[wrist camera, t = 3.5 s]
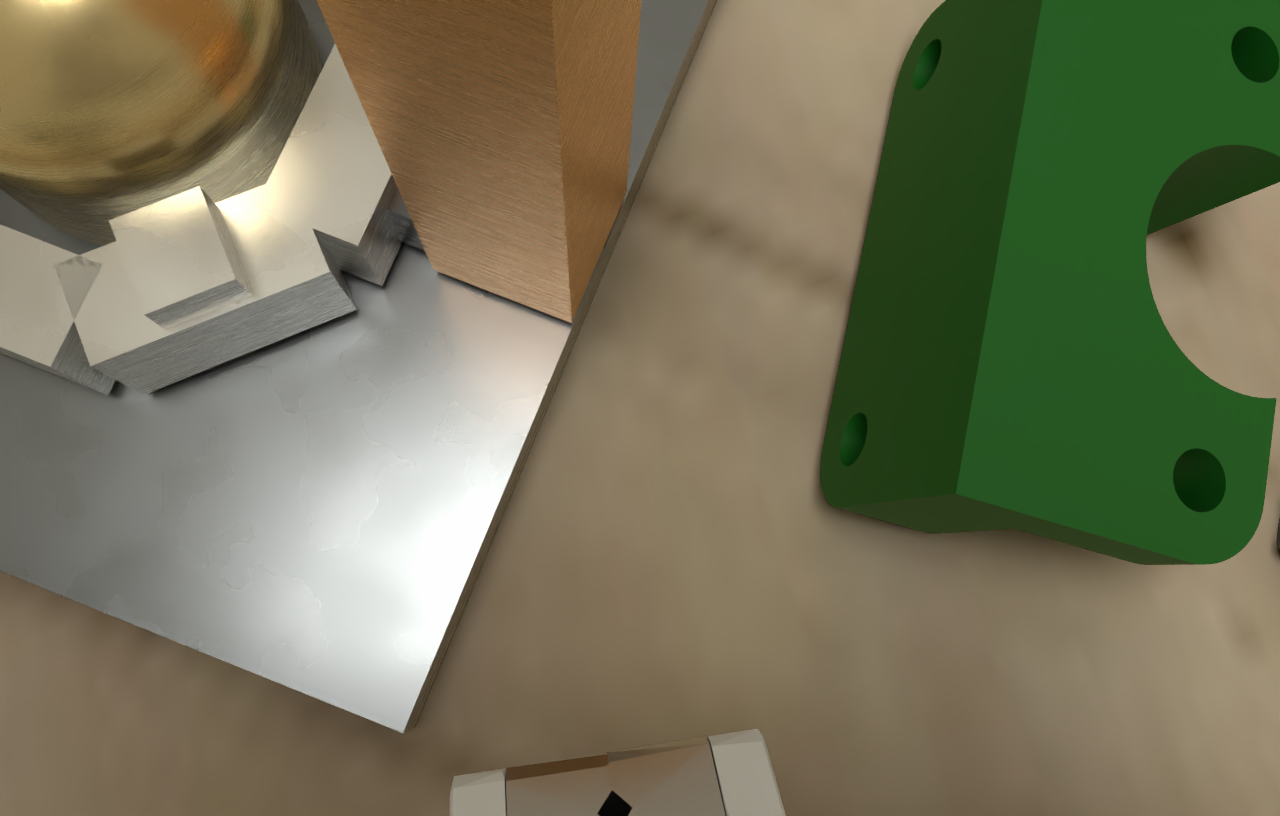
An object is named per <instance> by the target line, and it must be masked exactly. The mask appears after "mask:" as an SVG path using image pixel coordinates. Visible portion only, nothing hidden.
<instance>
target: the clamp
mask: <svg viewBox="0 0 1280 816" xmlns="http://www.w3.org/2000/svg"><path fill="white" fill-rule="evenodd" d="M1278 182H1280V0H946V1H945V2H944V3H942V4H941V5H940V6H939V7H938V8H937V9H936V10H935V11H934V12H933V13H932V14H931V15H930V17H929V18H928V19H927V20H926V22H925V23H924V24H923V26H922V27H921V29H920V31H919V32H918V34H917V35H916V37H915V39H914V41H913V43H912V45H911V47H910V49H909V51H908V53H907V55H906V57H905V60H904V62H903V65H902V68H901V70H900V73H899V77H898V80H897V84H896V88H895V93H894V98H893V102H892V107H891V112H890V117H889V122H888V127H887V132H886V137H885V142H884V147H883V152H882V157H881V162H880V167H879V172H878V177H877V182H876V187H875V192H874V197H873V202H872V207H871V212H870V216H869V221H868V226H867V231H866V236H865V241H864V246H863V251H862V256H861V261H860V266H859V271H858V276H857V281H856V286H855V291H854V296H853V301H852V306H851V311H850V316H849V321H848V325H847V330H846V335H845V340H844V345H843V350H842V355H841V360H840V365H839V370H838V375H837V380H836V385H835V390H834V395H833V400H832V405H831V410H830V415H829V420H828V425H827V430H826V434H825V439H824V444H823V450H822V456H821V466H820V478H821V486H822V491H823V494H824V497H825V499H826V500H827V502H828V503H829V504H830V505H832V506H834V507H837V508H841V509H844V510H848V511H851V512H855V513H858V514H862V515H865V516H869V517H873V518H876V519H880V520H883V521H887V522H890V523H894V524H897V525H901V526H905V527H908V528H912V529H915V530H919V531H922V532H926V533H949V532H966V531H984V530H1001V529H1018V530H1022V531H1025V532H1029V533H1032V534H1035V535H1039V536H1042V537H1046V538H1049V539H1053V540H1056V541H1060V542H1063V543H1067V544H1070V545H1074V546H1077V547H1081V548H1084V549H1087V550H1091V551H1094V552H1098V553H1101V554H1105V555H1108V556H1112V557H1115V558H1119V559H1122V560H1126V561H1129V562H1133V563H1137V564H1144V565H1174V564H1214V563H1219V562H1222V561H1225V560H1227V559H1229V558H1231V557H1233V556H1234V555H1236V554H1237V553H1238V552H1240V551H1241V550H1242V549H1243V548H1244V547H1245V546H1246V545H1247V544H1248V542H1249V541H1250V540H1251V538H1252V537H1253V535H1254V533H1255V531H1256V529H1257V527H1258V525H1259V522H1260V519H1261V515H1262V512H1263V506H1264V498H1265V490H1266V481H1267V473H1268V464H1269V456H1270V448H1271V439H1272V431H1273V422H1274V414H1275V405H1276V398H1257V397H1251V396H1247V395H1243V394H1240V393H1237V392H1235V391H1232V390H1230V389H1228V388H1226V387H1224V386H1222V385H1220V384H1218V383H1217V382H1215V381H1214V380H1212V379H1210V378H1209V377H1208V376H1206V375H1205V374H1204V373H1203V372H1201V371H1200V370H1199V369H1198V368H1197V367H1196V366H1195V365H1194V364H1193V363H1192V362H1191V361H1190V360H1189V359H1188V358H1187V357H1186V356H1185V355H1184V353H1183V352H1182V351H1181V350H1180V349H1179V347H1178V346H1177V344H1176V343H1175V341H1174V340H1173V339H1172V337H1171V335H1170V334H1169V332H1168V330H1167V329H1166V327H1165V325H1164V323H1163V321H1162V319H1161V317H1160V314H1159V312H1158V310H1157V307H1156V304H1155V301H1154V299H1153V295H1152V291H1151V288H1150V284H1149V278H1148V272H1147V263H1146V238H1147V235H1148V234H1150V233H1153V232H1155V231H1158V230H1160V229H1163V228H1165V227H1168V226H1170V225H1173V224H1175V223H1178V222H1180V221H1183V220H1185V219H1188V218H1190V217H1193V216H1195V215H1198V214H1200V213H1203V212H1205V211H1208V210H1210V209H1213V208H1215V207H1218V206H1220V205H1223V204H1225V203H1228V202H1230V201H1233V200H1235V199H1238V198H1240V197H1243V196H1245V195H1248V194H1251V193H1253V192H1256V191H1258V190H1261V189H1263V188H1266V187H1268V186H1271V185H1273V184H1276V183H1278Z"/></svg>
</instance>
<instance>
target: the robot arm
mask: <svg viewBox="0 0 1280 816" xmlns="http://www.w3.org/2000/svg"><path fill="white" fill-rule="evenodd" d="M450 816H786V814H785V810H784V807H783V803H782V800H781V796H780V793H779V789H778V786H777V782H776V779H775V775H774V772H773V768H772V765H771V761H770V757H769V754H768V750H767V747H766V743H765V740H764V737H763V735H762V734H761V733H760V731H759V730H758V729H757V728H756V729H750V730H744V731H738V732H732V733H725V734H719V735H713V736H708V738H706V736H700V737H694V738H689V739H683V740H677V741H671V742H666V743H660V744H654V745H648V746H643V747H637V748H631V749H625V750H620V751H614V752H608V753H607V755H601V756H594V757H586V758H579V759H571V760H564V761H556V762H549V763H541V764H534V765H526V766H519V767H511V768H507V769H506V768H505V769H498V770H491V771H485V772H478V773H471V774H464V775H458V776H454V777H453V782H452V786H451V790H450Z"/></svg>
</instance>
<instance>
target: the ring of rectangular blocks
mask: <svg viewBox="0 0 1280 816" xmlns="http://www.w3.org/2000/svg"><path fill="white" fill-rule="evenodd" d="M641 2H642V0H317V3H318V5H319V7H320V9H321V12H322V14H323V16H324V19H325V21H326V23H327V26H328V28H329V30H330V33H331V35H332V37H333V39H334V42H335V45H334V47H333V49H332V51H331V53H330V55H329V57H328V59H327V61H326V63H325V65H324V67H323V69H322V71H321V73H320V75H319V77H318V79H317V81H316V83H315V85H314V87H313V89H312V91H311V93H310V96H309V98H308V100H307V102H306V104H305V106H304V108H303V110H302V112H301V114H300V116H299V118H298V120H297V122H296V124H295V126H294V128H293V130H292V132H291V134H290V136H289V138H288V140H287V142H286V144H285V147H284V149H283V151H282V153H281V155H280V157H279V159H278V161H277V163H276V165H275V167H274V169H273V171H272V173H271V175H270V177H269V179H268V181H267V183H266V184H264V185H261V186H259V187H256V188H254V189H251V190H248V191H246V192H243V193H241V194H238V195H235V196H233V197H230V198H227V199H225V200H222V201H220V202H217V203H214V202H213V201H212V200H211V199H210V197H209V196H208V195H207V194H206V193H205V192H204V191H203V189H202V188H201V187H200V186H198V187H196V188H193V189H190V190H188V191H185V192H182V193H180V194H177V195H174V196H172V197H169V198H167V199H164V200H161V201H159V202H156V203H153V204H151V205H148V206H145V207H143V208H140V209H138V210H135V211H132V212H130V213H127V214H124V215H122V216H119V217H117V218H114V219H111V220H109V222H110V225H111V228H112V230H113V233H114V236H115V238H116V241H115V242H112V243H110V244H107V245H105V246H102V247H99V248H97V249H94V250H91V251H89V252H86V253H84V254H81V255H77V254H75V253H72V252H70V251H67V250H64V249H62V248H59V247H57V246H54V245H52V244H49V243H47V242H44V241H41V240H39V239H36V238H34V237H31V236H29V235H26V234H24V233H21V232H19V231H16V230H13V229H11V228H8V227H6V226H3V225H1V224H0V353H2V354H5V355H7V356H10V357H12V358H15V359H17V360H20V361H23V362H25V363H28V364H30V365H33V366H35V367H38V368H40V369H43V370H45V371H48V372H50V373H53V374H55V375H58V376H60V377H63V378H65V379H68V380H70V381H73V382H76V383H78V384H81V385H83V386H86V387H88V388H91V389H93V390H96V391H98V392H101V393H103V394H106V395H108V394H109V392H110V390H111V388H112V386H113V384H114V382H115V380H117V381H119V382H121V383H122V384H124V385H126V386H128V387H130V388H132V389H134V390H135V391H137V392H139V393H141V394H143V395H145V394H147V393H150V392H152V391H155V390H157V389H160V388H162V387H165V386H167V385H170V384H172V383H175V382H177V381H180V380H182V379H185V378H187V377H190V376H192V375H195V374H197V373H200V372H202V371H205V370H207V369H210V368H212V367H215V366H217V365H220V364H222V363H225V362H227V361H230V360H232V359H235V358H237V357H240V356H242V355H245V354H247V353H250V352H252V351H255V350H257V349H260V348H262V347H265V346H267V345H270V344H272V343H275V342H277V341H280V340H282V339H285V338H287V337H290V336H292V335H295V334H297V333H300V332H302V331H305V330H307V329H310V328H312V327H315V326H317V325H320V324H322V323H325V322H327V321H330V320H332V319H335V318H337V317H340V316H342V315H345V314H347V313H350V312H352V311H355V310H357V308H356V305H355V303H354V300H353V298H352V296H351V293H350V291H349V288H348V286H347V283H346V281H345V278H344V276H343V274H342V271H344V272H347V273H350V274H352V275H355V276H357V277H360V278H362V279H365V280H368V281H370V282H373V283H375V284H378V285H380V286H382V285H383V283H384V281H385V279H386V277H387V274H388V272H389V270H390V268H391V266H392V264H393V261H394V259H395V257H396V255H397V253H398V250H399V248H400V246H401V244H402V242H403V243H406V244H409V245H411V246H414V247H416V248H419V249H421V250H424V251H425V252H426V254H427V257H428V259H429V261H430V263H431V266H432V268H433V270H436V271H438V272H441V273H443V274H446V275H449V276H451V277H454V278H456V279H459V280H461V281H464V282H467V283H469V284H472V285H474V286H477V287H479V288H482V289H485V290H487V291H490V292H492V293H495V294H497V295H500V296H503V297H505V298H508V299H510V300H513V301H516V302H518V303H521V304H523V305H526V306H528V307H531V308H534V309H536V310H539V311H541V312H544V313H546V314H549V315H552V316H554V317H557V318H559V319H562V320H564V321H567V322H570V323H572V322H573V319H574V317H575V315H576V312H577V310H578V307H579V305H580V303H581V300H582V298H583V295H584V293H585V291H586V288H587V286H588V283H589V281H590V279H591V276H592V274H593V271H594V269H595V267H596V264H597V262H598V259H599V257H600V255H601V252H602V250H603V248H604V245H605V243H606V240H607V238H608V236H609V233H610V231H611V228H612V226H613V224H614V221H615V219H616V216H617V214H618V212H619V209H620V207H621V204H622V202H623V200H624V197H625V195H626V192H627V180H628V167H629V154H630V142H631V129H632V116H633V104H634V91H635V78H636V65H637V53H638V40H639V27H640V15H641ZM341 270H342V271H341Z"/></svg>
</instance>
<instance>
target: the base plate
mask: <svg viewBox="0 0 1280 816" xmlns="http://www.w3.org/2000/svg"><path fill="white" fill-rule="evenodd" d="M716 1H717V0H642V2H641V15H640V27H639V40H638V53H637V65H636V78H635V91H634V104H633V116H632V129H631V142H630V154H629V167H628V180H627V192H626V195H625V197H624V200H623V202H622V204H621V207H620V209H619V212H618V214H617V216H616V219H615V221H614V224H613V226H612V228H611V231H610V233H609V236H608V238H607V240H606V243H605V245H604V248H603V250H602V252H601V255H600V257H599V259H598V262H597V264H596V267H595V269H594V271H593V274H592V276H591V279H590V281H589V283H588V286H587V288H586V291H585V293H584V295H583V298H582V300H581V303H580V305H579V307H578V310H577V312H576V315H575V317H574V319H573V322H572V323H570V322H567V321H564V320H562V319H559V318H557V317H554V316H552V315H549V314H546V313H544V312H541V311H539V310H536V309H534V308H531V307H528V306H526V305H523V304H521V303H518V302H516V301H513V300H510V299H508V298H505V297H503V296H500V295H497V294H495V293H492V292H490V291H487V290H485V289H482V288H479V287H477V286H474V285H472V284H469V283H467V282H464V281H461V280H459V279H456V278H454V277H451V276H449V275H446V274H443V273H441V272H438V271H436V270H433V268H432V266H431V263H430V261H429V259H428V257H427V254H426V252H425V251H424V250H421V249H419V248H416V247H414V246H411V245H409V244H406V243H403V242H402V244H401V246H400V248H399V250H398V253H397V255H396V257H395V259H394V261H393V264H392V266H391V268H390V270H389V272H388V274H387V277H386V279H385V281H384V283H383V285H382V286H380V285H378V284H375V283H373V282H370V281H368V280H365V279H362V278H360V277H357V276H355V275H352V274H350V273H347V272H344V271H342V270H341V271H342V274H343V276H344V278H345V281H346V283H347V286H348V288H349V291H350V293H351V296H352V298H353V300H354V303H355V305H356V308H357V310H355V311H352V312H350V313H347V314H345V315H342V316H340V317H337V318H335V319H332V320H330V321H327V322H325V323H322V324H320V325H317V326H315V327H312V328H310V329H307V330H305V331H302V332H300V333H297V334H295V335H292V336H290V337H287V338H285V339H282V340H280V341H277V342H275V343H272V344H270V345H267V346H265V347H262V348H260V349H257V350H255V351H252V352H250V353H247V354H245V355H242V356H240V357H237V358H235V359H232V360H230V361H227V362H225V363H222V364H220V365H217V366H215V367H212V368H210V369H207V370H205V371H202V372H200V373H197V374H195V375H192V376H190V377H187V378H185V379H182V380H180V381H177V382H175V383H172V384H170V385H167V386H165V387H162V388H160V389H157V390H155V391H152V392H150V393H147V394H145V395H143V394H141V393H139V392H137V391H135V390H134V389H132V388H130V387H128V386H126V385H124V384H122V383H121V382H119V381H117V380H115V382H114V384H113V386H112V388H111V390H110V392H109V394H108V395H106V394H103V393H101V392H98V391H96V390H93V389H91V388H88V387H86V386H83V385H81V384H78V383H76V382H73V381H70V380H68V379H65V378H63V377H60V376H58V375H55V374H53V373H50V372H48V371H45V370H43V369H40V368H38V367H35V366H33V365H30V364H28V363H25V362H23V361H20V360H17V359H15V358H12V357H10V356H7V355H5V354H2V353H0V571H2V572H4V573H7V574H9V575H12V576H14V577H17V578H19V579H22V580H24V581H27V582H29V583H32V584H34V585H37V586H39V587H42V588H44V589H47V590H49V591H52V592H54V593H57V594H59V595H61V596H64V597H66V598H69V599H71V600H74V601H76V602H79V603H81V604H84V605H86V606H89V607H91V608H94V609H96V610H99V611H101V612H104V613H106V614H109V615H111V616H114V617H116V618H119V619H121V620H123V621H126V622H128V623H131V624H133V625H136V626H138V627H141V628H143V629H146V630H148V631H151V632H153V633H156V634H158V635H161V636H163V637H166V638H168V639H171V640H173V641H176V642H178V643H181V644H183V645H185V646H188V647H190V648H193V649H195V650H198V651H200V652H203V653H205V654H208V655H210V656H213V657H215V658H218V659H220V660H223V661H225V662H228V663H230V664H233V665H235V666H238V667H240V668H243V669H245V670H247V671H250V672H252V673H255V674H257V675H260V676H262V677H265V678H267V679H270V680H272V681H275V682H277V683H280V684H282V685H285V686H287V687H290V688H292V689H295V690H297V691H300V692H302V693H305V694H307V695H309V696H312V697H314V698H317V699H319V700H322V701H324V702H327V703H329V704H332V705H334V706H337V707H339V708H342V709H344V710H347V711H349V712H352V713H354V714H357V715H359V716H362V717H364V718H367V719H369V720H371V721H374V722H376V723H379V724H381V725H384V726H386V727H389V728H391V729H394V730H396V731H399V732H401V733H404V732H406V731H408V730H410V729H412V728H414V727H415V726H416V723H417V721H418V718H419V716H420V713H421V711H422V709H423V706H424V704H425V701H426V699H427V697H428V694H429V692H430V689H431V687H432V685H433V682H434V680H435V677H436V675H437V673H438V670H439V668H440V665H441V663H442V661H443V658H444V656H445V653H446V651H447V649H448V646H449V644H450V641H451V639H452V636H453V634H454V632H455V629H456V627H457V624H458V622H459V620H460V617H461V615H462V612H463V610H464V608H465V605H466V603H467V600H468V598H469V596H470V593H471V591H472V588H473V586H474V584H475V581H476V579H477V576H478V574H479V571H480V569H481V567H482V564H483V562H484V559H485V557H486V555H487V552H488V550H489V547H490V545H491V543H492V540H493V538H494V535H495V533H496V531H497V528H498V526H499V523H500V521H501V519H502V516H503V514H504V511H505V509H506V507H507V504H508V502H509V499H510V497H511V494H512V492H513V490H514V487H515V485H516V482H517V480H518V478H519V475H520V473H521V470H522V468H523V466H524V463H525V461H526V458H527V456H528V454H529V451H530V449H531V446H532V444H533V442H534V439H535V437H536V434H537V432H538V429H539V427H540V425H541V422H542V420H543V417H544V415H545V413H546V410H547V408H548V405H549V403H550V401H551V398H552V396H553V393H554V391H555V389H556V386H557V384H558V381H559V379H560V377H561V374H562V372H563V369H564V367H565V365H566V362H567V360H568V357H569V355H570V352H571V350H572V348H573V345H574V343H575V340H576V338H577V336H578V333H579V331H580V328H581V326H582V324H583V321H584V319H585V316H586V314H587V312H588V309H589V307H590V304H591V302H592V300H593V297H594V295H595V292H596V290H597V287H598V285H599V283H600V280H601V278H602V275H603V273H604V271H605V268H606V266H607V263H608V261H609V259H610V256H611V254H612V251H613V249H614V247H615V244H616V242H617V239H618V237H619V235H620V232H621V230H622V227H623V225H624V223H625V220H626V218H627V215H628V213H629V210H630V208H631V206H632V203H633V201H634V198H635V196H636V194H637V191H638V189H639V186H640V184H641V182H642V179H643V177H644V174H645V172H646V170H647V167H648V165H649V162H650V160H651V158H652V155H653V153H654V150H655V148H656V146H657V143H658V141H659V138H660V136H661V133H662V131H663V129H664V126H665V124H666V121H667V119H668V117H669V114H670V112H671V109H672V107H673V105H674V102H675V100H676V97H677V95H678V93H679V90H680V88H681V85H682V83H683V81H684V78H685V76H686V73H687V71H688V68H689V66H690V64H691V61H692V59H693V56H694V54H695V52H696V49H697V47H698V44H699V42H700V40H701V37H702V35H703V32H704V30H705V28H706V25H707V23H708V20H709V18H710V16H711V13H712V11H713V8H714V6H715V4H716ZM334 45H335V42H334V39H333V37H332V35H331V33H330V30H329V28H328V26H327V23H326V21H325V19H324V16H323V14H322V12H321V9H320V7H319V5H318V3H317V0H0V224H1V225H3V226H6V227H8V228H11V229H13V230H16V231H19V232H21V233H24V234H26V235H29V236H31V237H34V238H36V239H39V240H41V241H44V242H47V243H49V244H52V245H54V246H57V247H59V248H62V249H64V250H67V251H70V252H72V253H75V254H77V255H81V254H84V253H86V252H89V251H91V250H94V249H97V248H99V247H102V246H105V245H107V244H110V243H112V242H115V241H116V238H115V236H114V233H113V230H112V228H111V225H110V222H109V220H111V219H114V218H117V217H119V216H122V215H124V214H127V213H130V212H132V211H135V210H138V209H140V208H143V207H145V206H148V205H151V204H153V203H156V202H159V201H161V200H164V199H167V198H169V197H172V196H174V195H177V194H180V193H182V192H185V191H188V190H190V189H193V188H196V187H198V186H200V187H201V188H202V189H203V191H204V192H205V193H206V194H207V195H208V196H209V197H210V199H211V200H212V201H213V202H214V203H217V202H220V201H222V200H225V199H227V198H230V197H233V196H235V195H238V194H241V193H243V192H246V191H248V190H251V189H254V188H256V187H259V186H261V185H264V184H266V183H267V181H268V179H269V177H270V175H271V173H272V171H273V169H274V167H275V165H276V163H277V161H278V159H279V157H280V155H281V153H282V151H283V149H284V147H285V144H286V142H287V140H288V138H289V136H290V134H291V132H292V130H293V128H294V126H295V124H296V122H297V120H298V118H299V116H300V114H301V112H302V110H303V108H304V106H305V104H306V102H307V100H308V98H309V96H310V93H311V91H312V89H313V87H314V85H315V83H316V81H317V79H318V77H319V75H320V73H321V71H322V69H323V67H324V65H325V63H326V61H327V59H328V57H329V55H330V53H331V51H332V49H333V47H334Z"/></svg>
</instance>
